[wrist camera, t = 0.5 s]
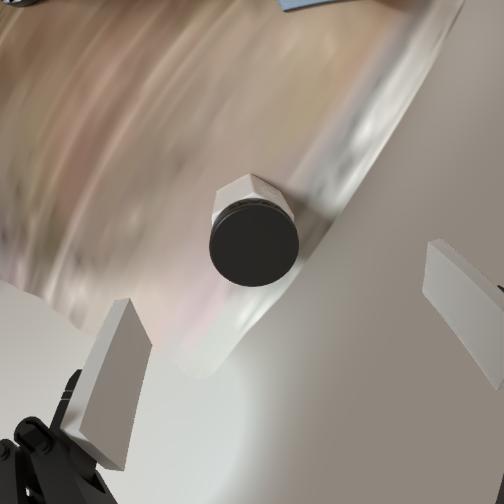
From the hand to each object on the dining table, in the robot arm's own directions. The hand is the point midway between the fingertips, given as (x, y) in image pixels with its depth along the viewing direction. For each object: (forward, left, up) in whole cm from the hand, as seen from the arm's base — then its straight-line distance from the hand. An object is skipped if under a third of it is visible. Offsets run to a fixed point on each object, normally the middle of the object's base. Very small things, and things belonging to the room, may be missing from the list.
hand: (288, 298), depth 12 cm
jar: (+4, -2, -27) cm, 27 cm away
